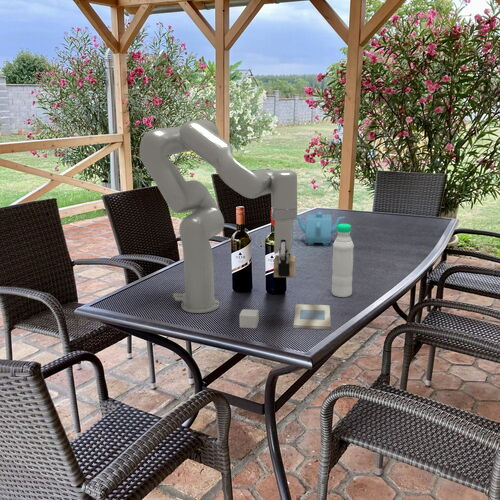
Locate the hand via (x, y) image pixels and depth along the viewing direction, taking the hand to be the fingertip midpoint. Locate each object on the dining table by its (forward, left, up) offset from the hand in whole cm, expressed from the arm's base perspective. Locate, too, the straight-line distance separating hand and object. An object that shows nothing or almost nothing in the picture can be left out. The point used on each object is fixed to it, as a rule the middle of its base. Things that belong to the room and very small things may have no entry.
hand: (284, 272), depth 156 cm
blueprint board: (+8, +3, -16) cm, 18 cm away
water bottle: (+18, +25, -16) cm, 35 cm away
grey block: (-11, -4, -16) cm, 20 cm away
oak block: (0, 0, -1) cm, 1 cm away
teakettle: (+10, +97, -16) cm, 99 cm away
